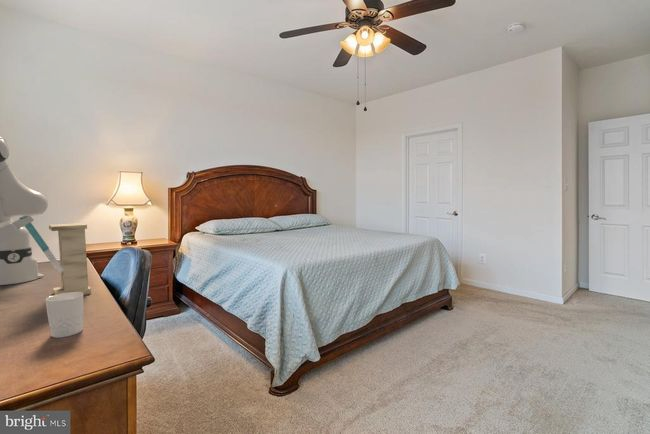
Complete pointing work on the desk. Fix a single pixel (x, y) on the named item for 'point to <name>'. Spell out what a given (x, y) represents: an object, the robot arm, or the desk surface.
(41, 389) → the desk surface
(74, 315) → the white cup
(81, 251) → the pedestal stand
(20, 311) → the desk surface
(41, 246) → the turner
